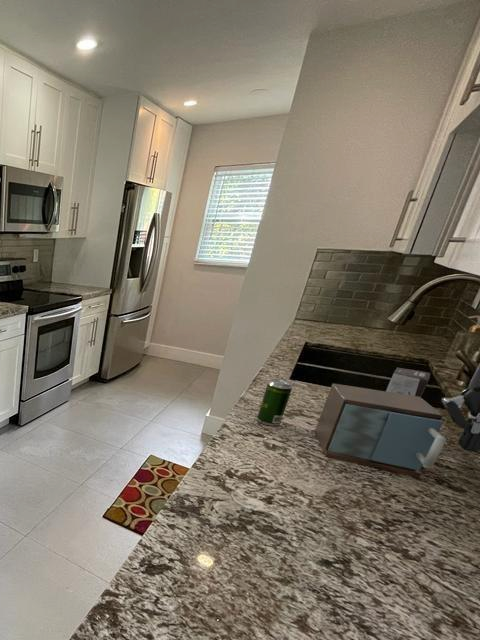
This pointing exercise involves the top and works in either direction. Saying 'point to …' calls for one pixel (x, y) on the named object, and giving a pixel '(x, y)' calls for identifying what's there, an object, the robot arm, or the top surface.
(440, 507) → the top surface
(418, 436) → the glass door
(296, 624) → the top surface
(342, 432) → the display cabinet
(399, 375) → the coffee box
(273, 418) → the beer can
